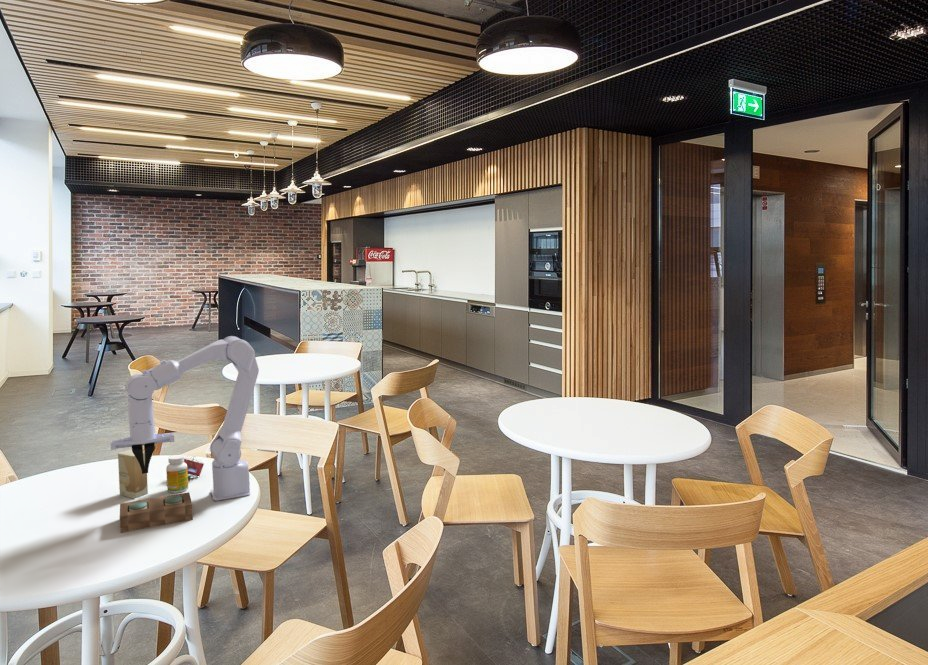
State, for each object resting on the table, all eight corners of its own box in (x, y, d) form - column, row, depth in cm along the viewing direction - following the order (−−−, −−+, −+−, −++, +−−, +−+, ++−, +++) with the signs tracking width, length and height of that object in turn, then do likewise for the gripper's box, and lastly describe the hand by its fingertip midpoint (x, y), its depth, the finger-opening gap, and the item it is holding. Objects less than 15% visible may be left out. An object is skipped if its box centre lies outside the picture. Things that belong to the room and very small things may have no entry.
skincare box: (119, 495, 171) (116, 453, 170) (132, 490, 175) (129, 448, 174) (135, 499, 169) (133, 455, 167) (149, 493, 173) (146, 451, 171)
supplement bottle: (180, 494, 172) (178, 460, 171) (163, 492, 173) (161, 459, 172) (192, 487, 177) (190, 454, 176) (175, 485, 179) (174, 453, 177)
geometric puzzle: (210, 465, 190) (192, 446, 188) (207, 472, 183) (189, 453, 181) (191, 480, 189) (172, 461, 186) (187, 488, 182) (168, 469, 180)
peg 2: (182, 509, 160) (181, 495, 160) (183, 515, 157) (182, 500, 156) (165, 512, 159) (164, 497, 158) (166, 518, 155) (165, 503, 155)
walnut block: (190, 506, 164) (189, 492, 163) (192, 519, 156) (192, 504, 155) (121, 518, 156) (120, 503, 156) (120, 532, 148) (119, 516, 148)
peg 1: (147, 515, 157) (146, 500, 156) (148, 521, 153) (147, 506, 153) (130, 518, 155) (129, 503, 154) (130, 525, 151) (128, 509, 151)
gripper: (172, 414, 165) (174, 463, 167) (109, 420, 158) (113, 471, 160) (173, 420, 159) (176, 471, 161) (108, 427, 152) (112, 480, 154)
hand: (145, 472), depth 160 cm, fingers closed
